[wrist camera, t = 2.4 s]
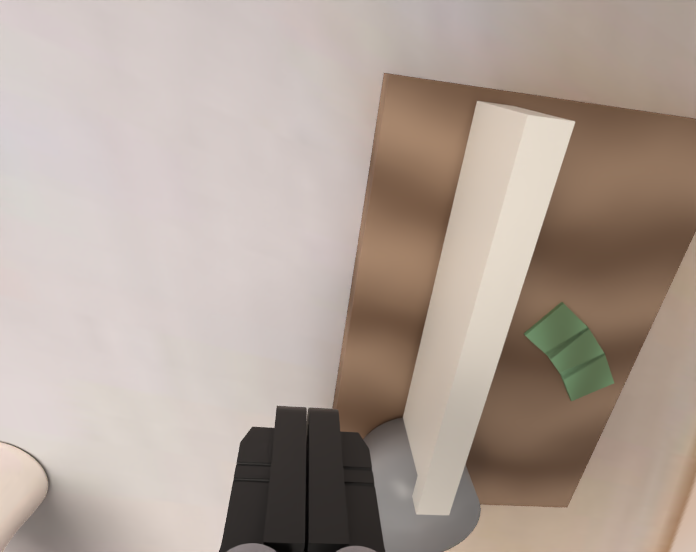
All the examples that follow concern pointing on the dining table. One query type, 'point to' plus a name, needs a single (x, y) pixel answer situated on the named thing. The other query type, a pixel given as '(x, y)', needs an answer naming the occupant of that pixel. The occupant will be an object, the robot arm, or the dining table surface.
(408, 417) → the lever handle
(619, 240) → the brown wooden board
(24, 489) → the beer glass
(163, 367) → the dining table surface
